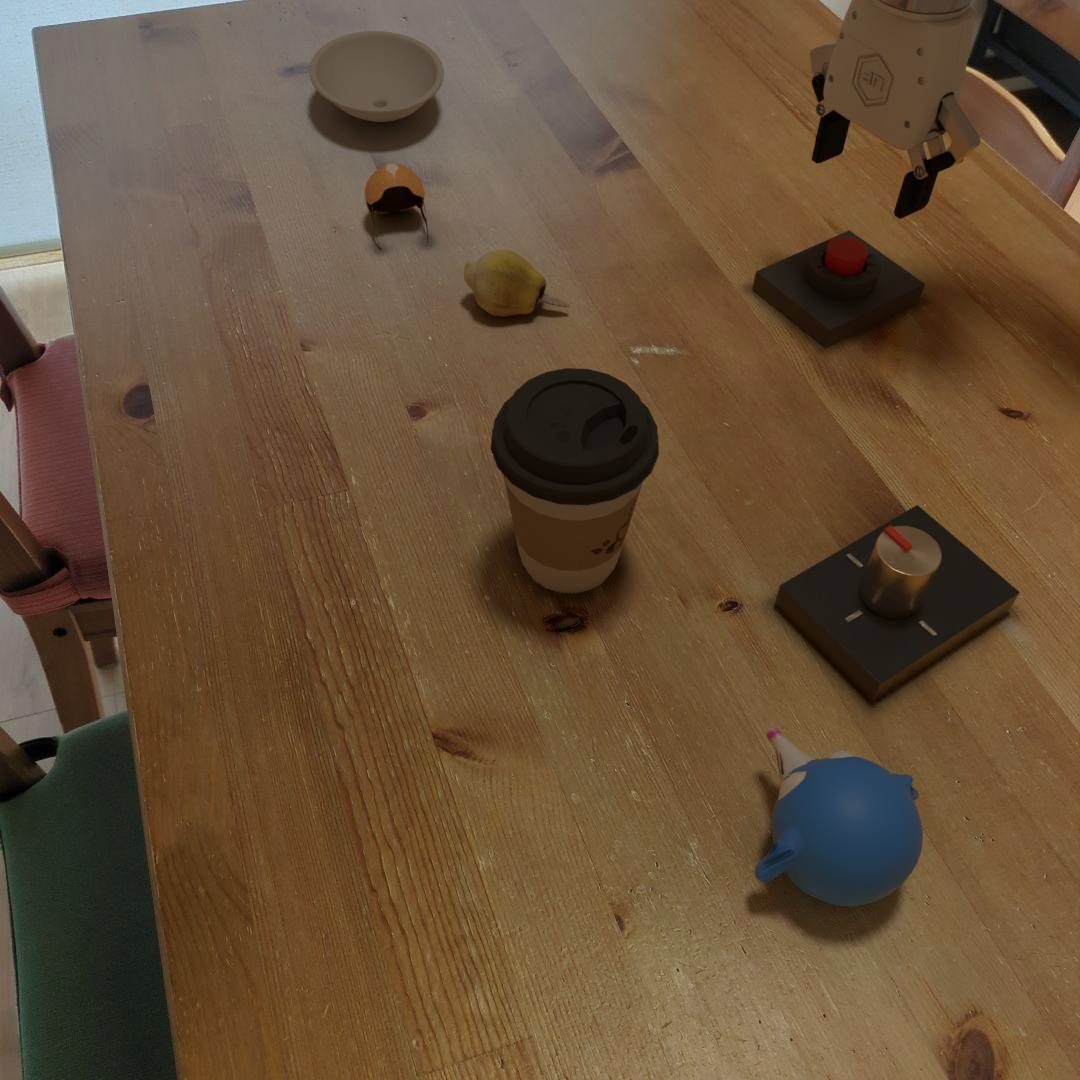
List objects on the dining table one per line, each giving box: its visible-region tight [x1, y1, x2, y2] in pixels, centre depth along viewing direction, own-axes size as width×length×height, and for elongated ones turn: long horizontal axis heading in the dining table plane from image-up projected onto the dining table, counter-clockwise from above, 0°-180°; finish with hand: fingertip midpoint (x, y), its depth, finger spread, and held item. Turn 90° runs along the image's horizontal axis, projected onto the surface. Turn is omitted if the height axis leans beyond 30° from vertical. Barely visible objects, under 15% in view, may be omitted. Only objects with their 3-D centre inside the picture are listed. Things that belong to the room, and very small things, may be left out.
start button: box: [824, 237, 868, 276], centre depth 101 cm, size 4×4×2 cm
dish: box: [308, 30, 445, 123], centre depth 123 cm, size 18×14×5 cm
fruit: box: [463, 249, 571, 318], centre depth 101 cm, size 6×6×10 cm
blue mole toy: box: [754, 727, 924, 907], centre depth 67 cm, size 12×12×8 cm
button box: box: [751, 229, 926, 349], centre depth 103 cm, size 12×10×4 cm
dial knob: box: [859, 525, 942, 619], centre depth 77 cm, size 4×4×5 cm
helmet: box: [364, 163, 429, 250], centre depth 109 cm, size 6×7×8 cm
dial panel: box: [774, 504, 1020, 703], centre depth 81 cm, size 14×10×3 cm
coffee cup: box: [490, 367, 660, 594], centre depth 79 cm, size 11×11×15 cm
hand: (866, 184), depth 95 cm, fingers open, 9 cm apart
